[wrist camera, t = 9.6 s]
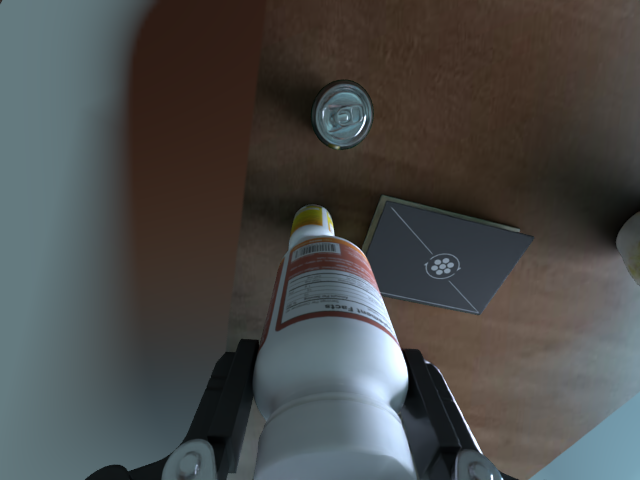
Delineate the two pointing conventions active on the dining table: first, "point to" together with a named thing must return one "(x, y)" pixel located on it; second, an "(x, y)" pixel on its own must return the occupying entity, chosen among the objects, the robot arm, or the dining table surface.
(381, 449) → the pill bottle
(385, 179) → the dining table surface
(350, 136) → the soda can
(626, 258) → the sugar bowl
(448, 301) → the book
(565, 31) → the dining table surface
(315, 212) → the supplement bottle
